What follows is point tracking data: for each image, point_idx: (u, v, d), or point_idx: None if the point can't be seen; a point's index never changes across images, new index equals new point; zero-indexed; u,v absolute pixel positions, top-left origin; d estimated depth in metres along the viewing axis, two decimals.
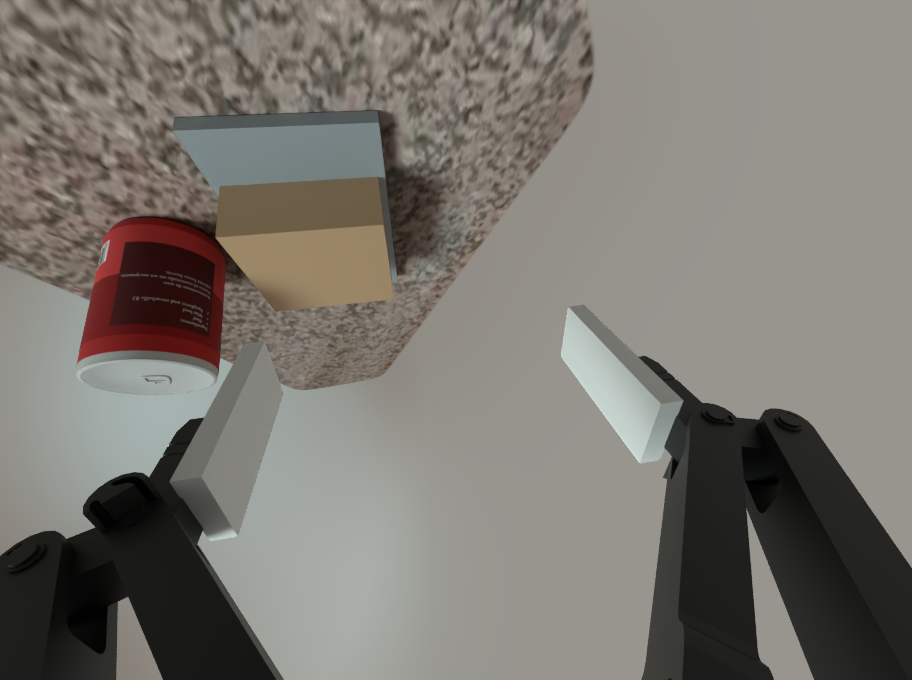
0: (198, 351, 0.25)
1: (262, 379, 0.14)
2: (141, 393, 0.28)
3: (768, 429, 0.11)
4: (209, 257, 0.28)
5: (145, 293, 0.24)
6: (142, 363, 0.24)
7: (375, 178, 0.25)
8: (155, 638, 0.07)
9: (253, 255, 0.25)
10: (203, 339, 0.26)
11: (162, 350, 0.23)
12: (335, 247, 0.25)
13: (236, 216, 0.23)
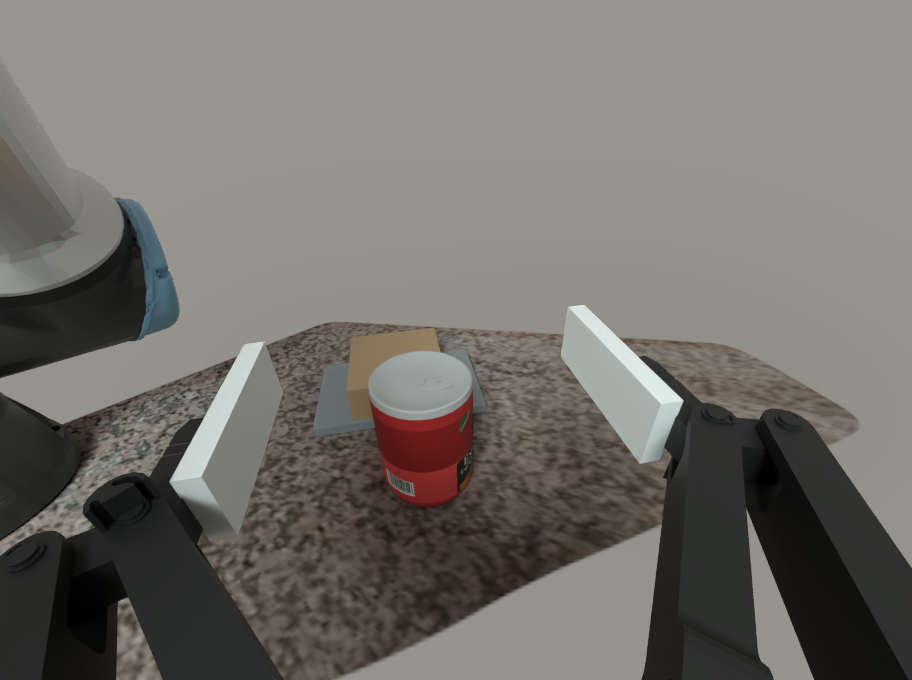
0: None
1: (262, 379, 0.14)
2: (460, 394, 0.27)
3: (768, 429, 0.11)
4: None
5: None
6: (391, 380, 0.29)
7: None
8: (155, 638, 0.07)
9: (368, 379, 0.38)
10: None
11: None
12: (367, 351, 0.42)
13: None
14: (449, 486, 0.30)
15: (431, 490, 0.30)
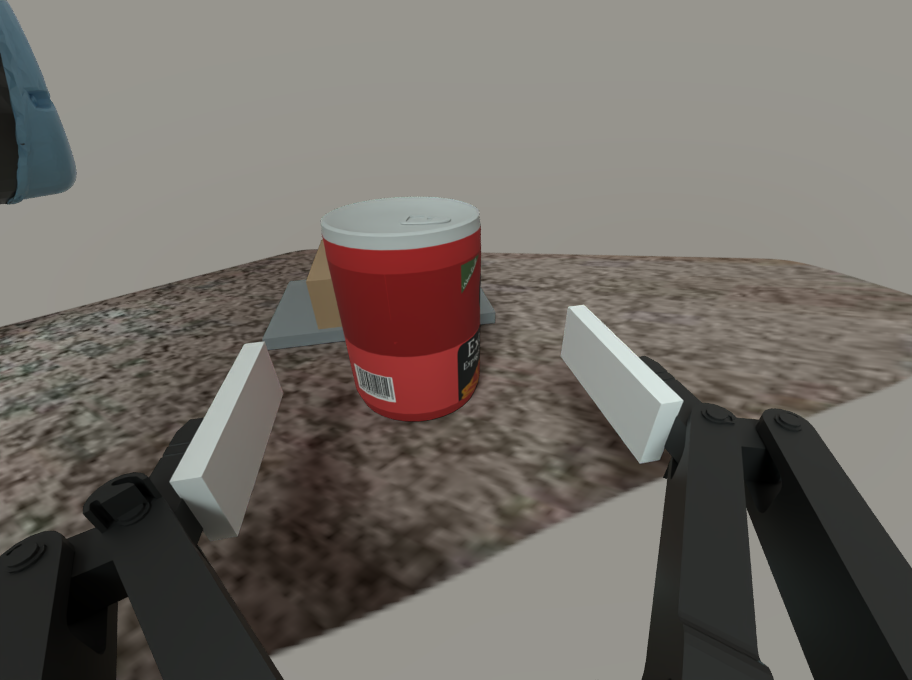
0: None
1: (262, 379, 0.14)
2: (461, 221, 0.17)
3: (768, 429, 0.11)
4: None
5: None
6: (358, 220, 0.19)
7: None
8: (155, 638, 0.07)
9: None
10: None
11: None
12: None
13: None
14: (446, 386, 0.20)
15: (419, 391, 0.20)
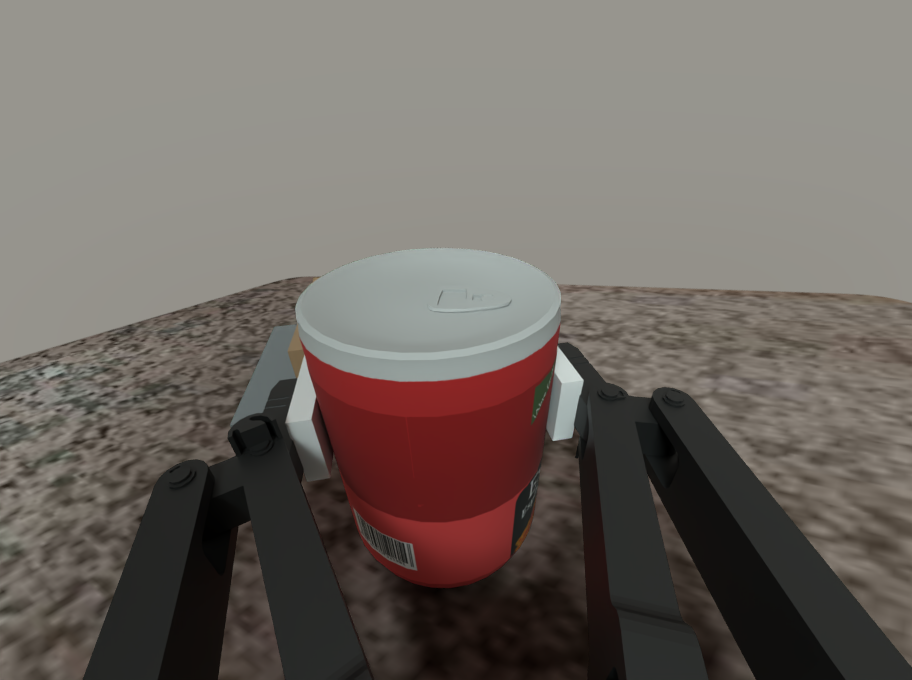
0: None
1: None
2: (539, 315, 0.10)
3: (659, 409, 0.11)
4: None
5: None
6: (358, 296, 0.12)
7: None
8: (264, 555, 0.08)
9: None
10: None
11: None
12: None
13: None
14: (496, 546, 0.13)
15: (455, 560, 0.13)
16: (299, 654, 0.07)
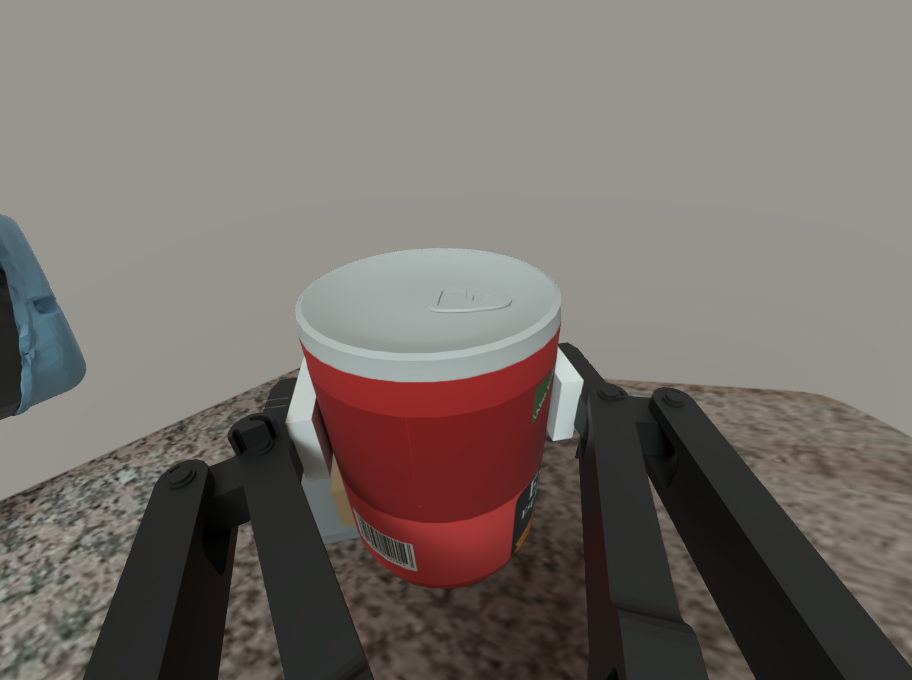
0: None
1: None
2: (539, 315, 0.10)
3: (660, 409, 0.11)
4: None
5: None
6: (358, 297, 0.12)
7: None
8: (264, 556, 0.08)
9: None
10: None
11: None
12: None
13: None
14: (496, 547, 0.13)
15: (455, 561, 0.13)
16: (299, 654, 0.06)
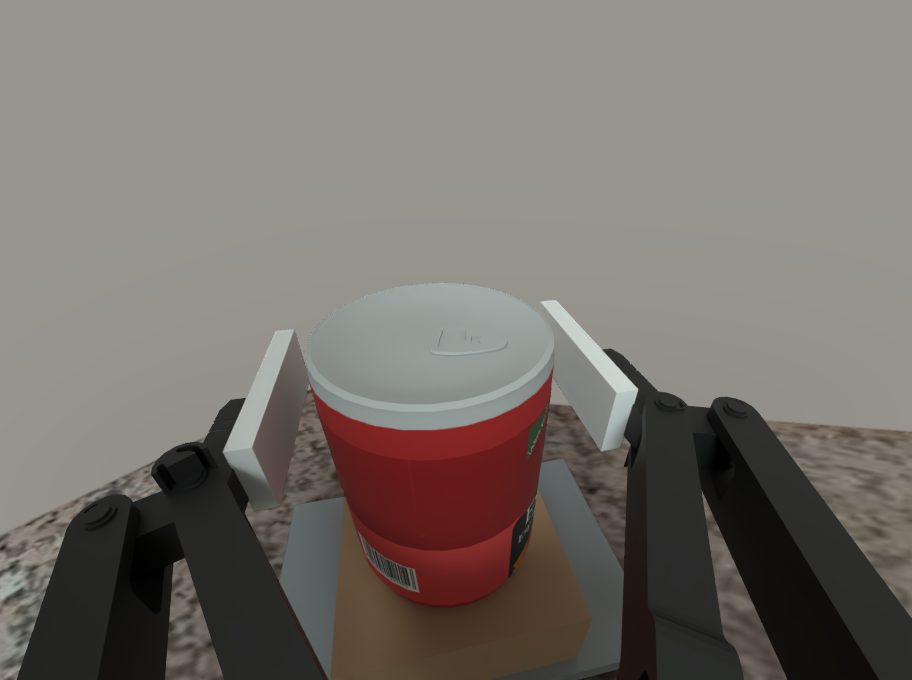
0: None
1: (293, 364, 0.15)
2: (533, 362, 0.10)
3: (719, 418, 0.11)
4: None
5: None
6: (363, 336, 0.13)
7: None
8: (205, 596, 0.07)
9: (388, 623, 0.15)
10: None
11: None
12: None
13: None
14: (494, 570, 0.14)
15: (455, 583, 0.13)
16: None
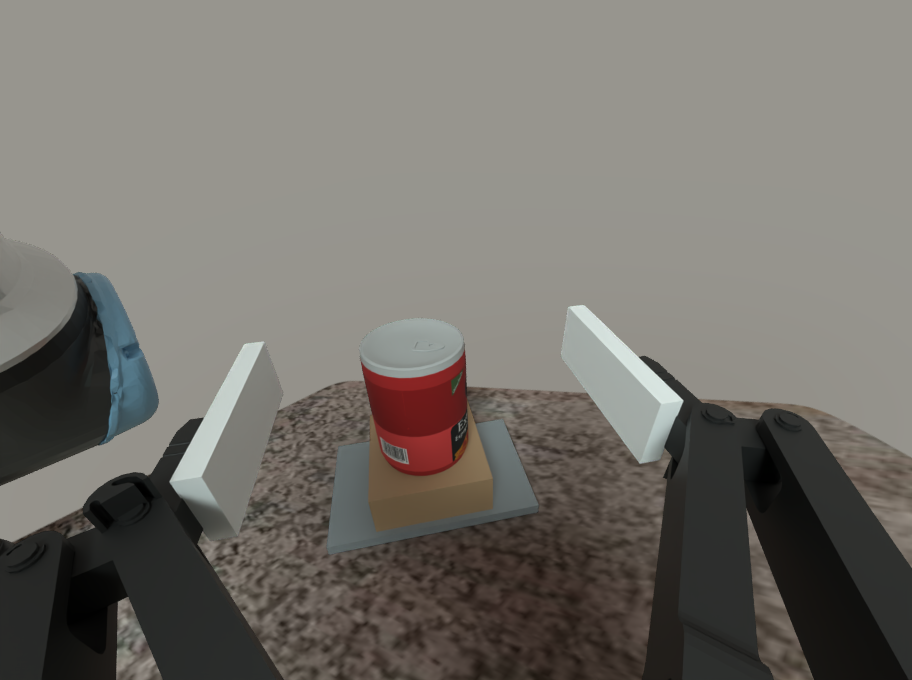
0: None
1: (262, 379, 0.14)
2: (451, 353, 0.26)
3: (768, 429, 0.11)
4: None
5: None
6: (383, 344, 0.29)
7: None
8: (155, 638, 0.07)
9: (394, 482, 0.30)
10: None
11: None
12: None
13: None
14: (443, 452, 0.30)
15: (425, 457, 0.29)
16: None
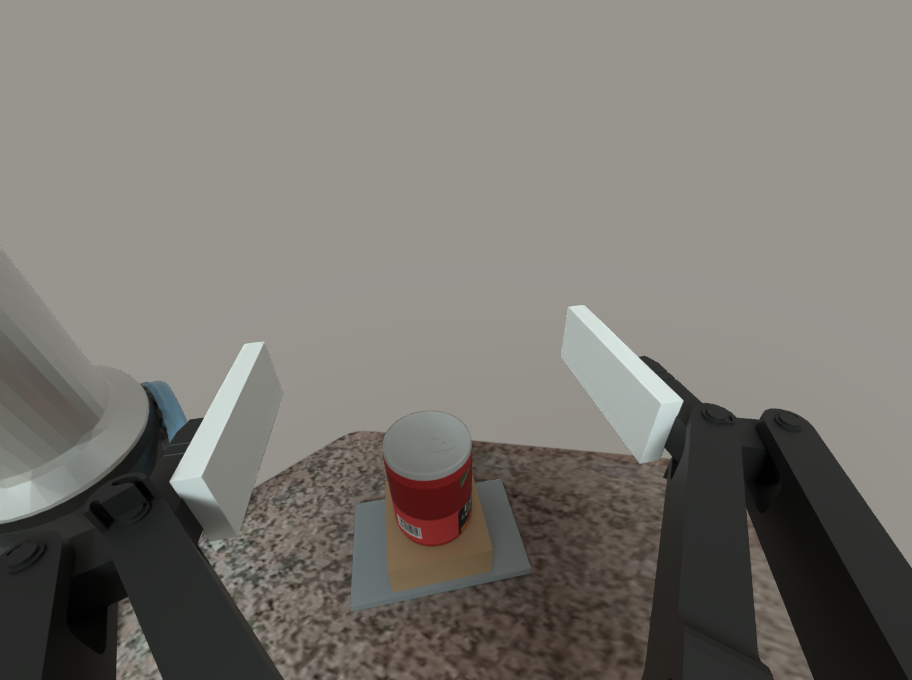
0: None
1: (262, 379, 0.14)
2: (460, 456, 0.32)
3: (768, 429, 0.11)
4: None
5: None
6: (402, 440, 0.34)
7: None
8: (155, 638, 0.07)
9: (409, 552, 0.36)
10: None
11: None
12: None
13: None
14: (451, 529, 0.35)
15: (436, 534, 0.35)
16: None
